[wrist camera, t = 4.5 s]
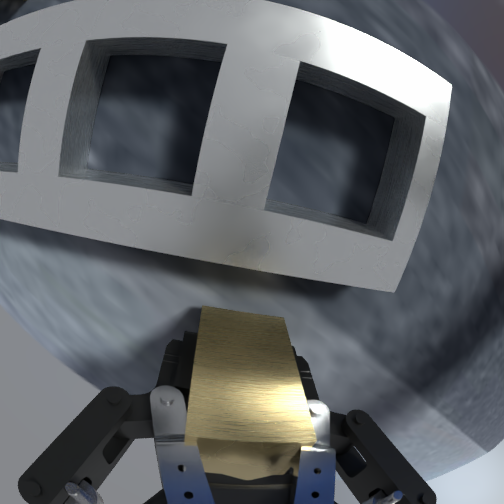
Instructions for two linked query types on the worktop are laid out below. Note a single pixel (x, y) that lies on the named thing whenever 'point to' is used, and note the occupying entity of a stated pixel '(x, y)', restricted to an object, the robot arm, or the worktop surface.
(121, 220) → the rail plate
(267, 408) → the brass peg
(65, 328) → the worktop surface
